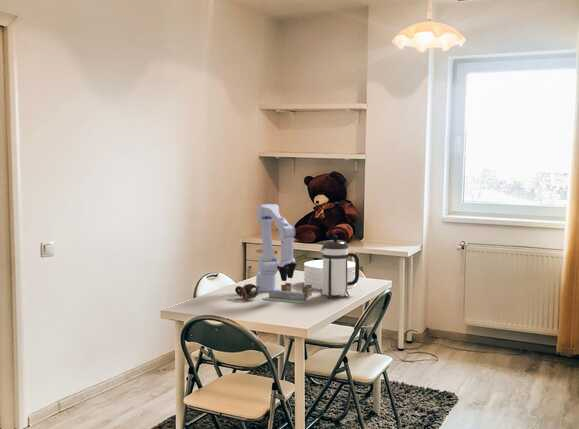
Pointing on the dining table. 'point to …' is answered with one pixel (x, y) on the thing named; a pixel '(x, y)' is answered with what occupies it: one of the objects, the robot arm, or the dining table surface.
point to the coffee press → (337, 267)
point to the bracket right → (307, 290)
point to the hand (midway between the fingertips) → (287, 279)
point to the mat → (283, 300)
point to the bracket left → (286, 287)
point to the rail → (287, 295)
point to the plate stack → (316, 274)
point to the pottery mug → (247, 291)
